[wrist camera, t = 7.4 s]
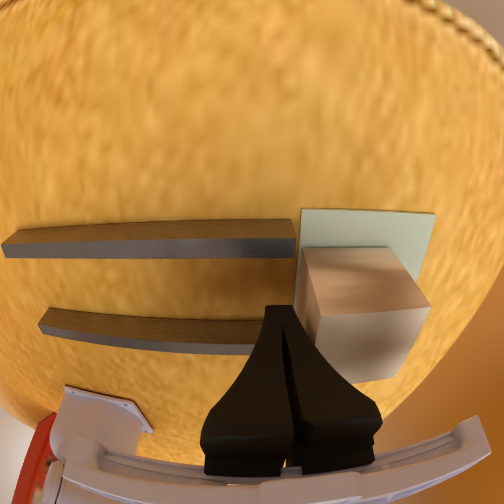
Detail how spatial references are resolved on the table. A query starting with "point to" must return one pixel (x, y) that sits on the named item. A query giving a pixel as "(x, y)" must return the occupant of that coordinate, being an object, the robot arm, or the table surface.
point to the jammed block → (360, 310)
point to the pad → (367, 234)
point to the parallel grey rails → (156, 247)
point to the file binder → (36, 465)
